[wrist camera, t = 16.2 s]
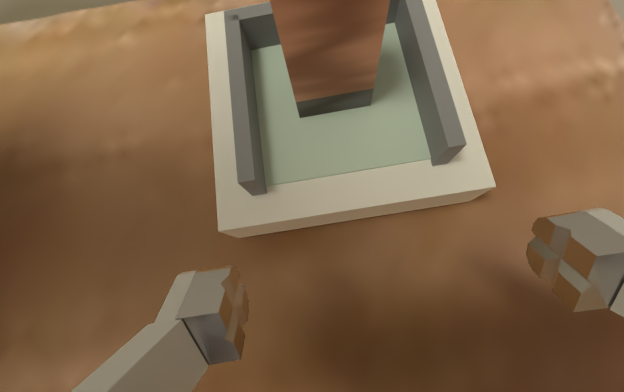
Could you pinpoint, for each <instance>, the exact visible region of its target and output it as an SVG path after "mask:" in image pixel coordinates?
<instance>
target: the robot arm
mask: <svg viewBox="0 0 624 392" xmlns="http://www.w3.org/2000/svg"><path fill="white" fill-rule="evenodd" d="M532 232H533V233H534V235H535V237H534V238H533V239H532V240H531V241H530V242H529V243H528V246H527V251H526V255H527V259H528V263H529V265H530V267H531V268H532V270H533V271H534V272H535V273H536V274H537V276H538V277H539V278H541V279H544V280H546V281H548V282H550V283H552V291H553V292H554V293H555V294H556V295H557V296H558V297H559V298H560V299H561V300H562V301H563V302H564V303H565V304H566V305H567V306H568V307H569V308H570V309H571V310H572V311H573V312H578V311H587V310H596V309H605V308H610V310H611V311H613V312H615V313H617V314H619V315H621V316H622V317H624V219H623V218H622V217H620V216H618V215H617V214H615V213H613V212H611V211H610V210H608V209H604V208H593V209H587V210H581V211H578V212H572V213H565V214H559V215H553V216H547V217H541V218H538V219H537V220H536V221H535V222H534V224H533V227H532ZM239 279H240V273H239V271H238V269H237V267H236V266H234V265H231V266H223V267H215V268H208V269H200V270H195V271H188V272H181V273H180V274H178V275H177V276H176V278H175V280H174V282H173V284H172V287H171V289H170V291H169V293H168V295H167V297H166V299H165V301H164V303H163V305H162V307H161V309H160V311H159V313H158V315H157V318H156V320H155V322H154V323H152V324H148V325H146V326H145V327H144V328H143V329H142V330H141V331H140V332H138V333H137V334H136V335H135V336H134V337H133V338H131V339H130V340H129V341H128V342H127V343H126V344H125V345H123V346H122V347H121V348H120V349H119V350H118V351H117V352H115V353H114V354H113V355H112V356H111V357H110V358H109V359H107V360H106V361H105V362H104V363H103V364H102V365H101V366H99V367H98V368H97V369H96V370H95V371H94V372H93V373H91V374H90V375H89V376H88V377H87V378H86V379H84V380H83V381H82V382H81V383H80V384H79V385H78V386H76V387H75V388H74V389H73V390H72V391H71V392H192V390H193V389H194V388H195V386H196V385H197V383H198V382H199V380H200V379H201V378H202V376H203V375H204V373H205V372H206V370H207V369H208V368H209V366H208V365H212V364H217V363H223V362H229V361H235V360H241V356H242V351H243V345H244V339H245V334H244V332H243V330H242V327H243V326H244V324H245V323H246V322H247V321H248V314H249V300H248V295H247V292H246V289H245V287H244V286H243V285H241V284H240V283H239Z"/></svg>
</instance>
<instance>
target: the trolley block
mask: <svg viewBox="0 0 624 392" xmlns="http://www.w3.org/2000/svg"><path fill="white" fill-rule="evenodd" d="M389 3H390V0H270V4H271V7H272V11H273V15H274V19H275V23H276V27H277V31H278V35H279V39H280V43H281V47H282V50H283V54H284V58H285V62H286V66H287V70H288V74H289V78H290V82H291V86H292V90H293V93H294V97H295V101H296V105H297V109H298V113H299V117H300V118H304V117H309V116H315V115H321V114H326V113H332V112H337V111H343V110H349V109H354V108H360V107H365V106H371V101H372V95H373V90H374V84H375V79H376V73H377V68H378V63H379V57H380V52H381V46H382V41H383V35H384V30H385V25H386V19H387V14H388V8H389Z"/></svg>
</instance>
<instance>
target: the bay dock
mask: <svg viewBox="0 0 624 392" xmlns="http://www.w3.org/2000/svg"><path fill="white" fill-rule="evenodd" d="M205 22H206V38H207V55H208V71H209V88H210V104H211V121H212V137H213V154H214V170H215V187H216V203H217V220H218V231H219V232H222V233H225V234H227V235H230V236H233V237H236V238H243V237H249V236H256V235H262V234H268V233H275V232H281V231H287V230H293V229H300V228H306V227H312V226H319V225H325V224H331V223H337V222H344V221H350V220H356V219H362V218H369V217H375V216H381V215H388V214H394V213H400V212H406V211H413V210H419V209H425V208H432V207H438V206H444V205H450V204H457V203H463V202H469V201H471V200H473V199H475V198H477V197H478V196H480V195H482V194H484V193H486V192H487V191H489V190H491V189H493V188H495V187H496V184H495V181H494V178H493V175H492V172H491V169H490V166H489V163H488V160H487V156H486V153H485V150H484V147H483V144H482V141H481V138H480V135H479V132H478V129H477V126H476V123H475V120H474V117H473V113H472V110H471V107H470V104H469V101H468V98H467V95H466V92H465V89H464V86H463V83H462V80H461V77H460V74H459V71H458V67H457V64H456V61H455V58H454V55H453V52H452V49H451V46H450V43H449V40H448V37H447V34H446V31H445V28H444V24H443V21H442V18H441V15H440V12H439V9H438V6H437V3H436V0H390V3H389V8H388V14H387V19H386V25H385V30H384V35H383V41H382V46H381V52H380V57H379V63H378V68H377V73H376V79H375V84H374V90H373V95H372V101H371V106H365V107H360V108H354V109H349V110H343V111H337V112H332V113H326V114H321V115H315V116H309V117H304V118H300V117H299V113H298V109H297V105H296V101H295V97H294V93H293V90H292V86H291V82H290V78H289V74H288V70H287V66H286V62H285V58H284V54H283V50H282V47H281V43H280V39H279V35H278V31H277V27H276V23H275V19H274V15H273V11H272V7H271V4H270V2H266V3H261V4H256V5H251V6H246V7H241V8H236V9H231V10H226V11H221V12H216V13H210V14H205Z"/></svg>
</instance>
